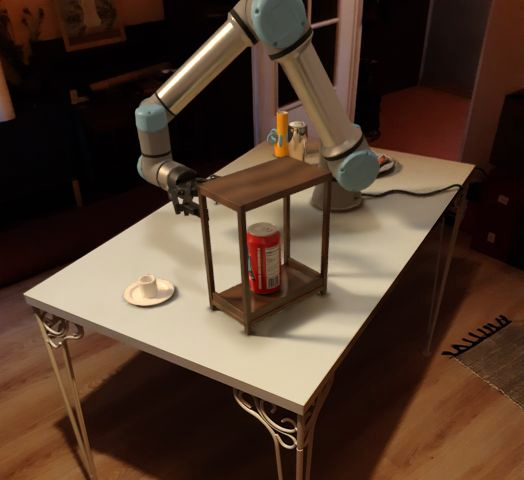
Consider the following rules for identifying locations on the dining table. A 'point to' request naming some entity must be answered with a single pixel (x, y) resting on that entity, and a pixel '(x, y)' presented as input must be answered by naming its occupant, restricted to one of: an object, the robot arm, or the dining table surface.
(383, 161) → the food plate
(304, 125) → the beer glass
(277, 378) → the dining table surface
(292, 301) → the shelf stand
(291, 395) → the dining table surface
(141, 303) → the candle holder
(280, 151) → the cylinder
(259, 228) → the soda can
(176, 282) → the dining table surface
